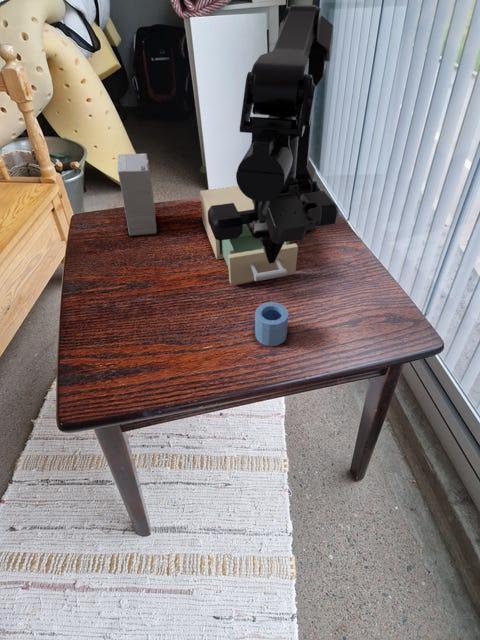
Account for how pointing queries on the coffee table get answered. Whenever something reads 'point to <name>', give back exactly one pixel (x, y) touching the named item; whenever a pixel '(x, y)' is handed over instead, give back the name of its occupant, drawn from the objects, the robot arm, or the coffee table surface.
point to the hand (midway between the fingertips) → (270, 261)
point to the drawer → (256, 259)
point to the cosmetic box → (137, 193)
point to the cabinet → (219, 198)
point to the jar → (271, 323)
